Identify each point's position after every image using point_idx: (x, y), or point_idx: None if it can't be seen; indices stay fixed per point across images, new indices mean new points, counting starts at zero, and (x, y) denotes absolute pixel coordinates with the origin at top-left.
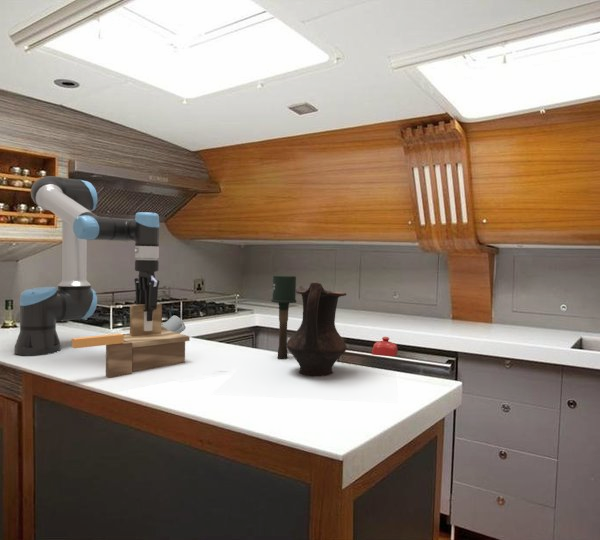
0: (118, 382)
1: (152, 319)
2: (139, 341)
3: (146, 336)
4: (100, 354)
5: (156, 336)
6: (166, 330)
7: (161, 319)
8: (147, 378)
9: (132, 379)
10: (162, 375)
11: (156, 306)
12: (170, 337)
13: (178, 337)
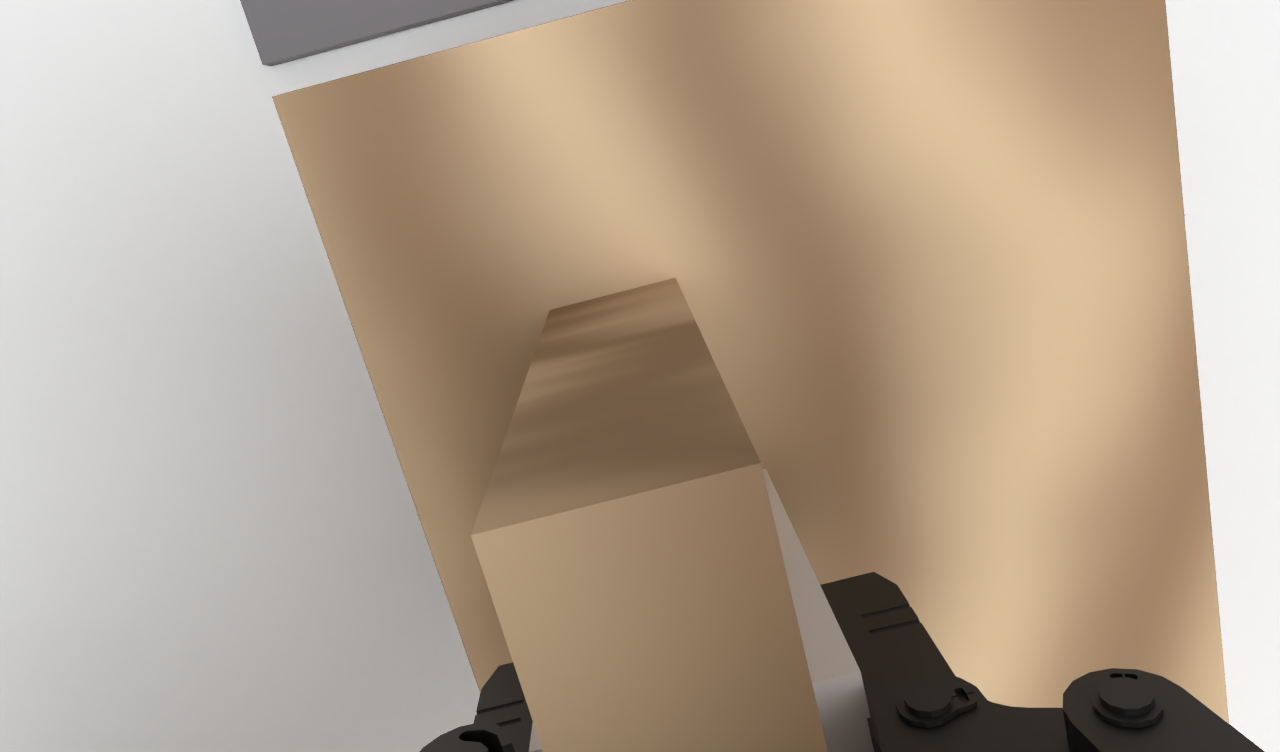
0: (1262, 712)
1: (807, 561)
2: (1202, 696)
3: (855, 547)
4: (79, 728)
5: (917, 411)
6: (351, 105)
7: (701, 334)
8: (1270, 493)
9: (1233, 607)
10: (1243, 352)
11: (1224, 728)
12: (1103, 225)
13: (1171, 96)
